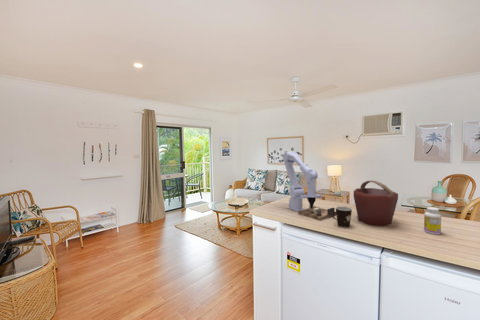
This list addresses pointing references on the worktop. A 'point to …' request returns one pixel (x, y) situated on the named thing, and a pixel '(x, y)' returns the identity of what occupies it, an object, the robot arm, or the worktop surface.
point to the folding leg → (314, 209)
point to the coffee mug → (343, 216)
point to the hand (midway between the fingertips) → (311, 208)
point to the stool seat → (318, 213)
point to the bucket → (375, 204)
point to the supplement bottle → (432, 221)
